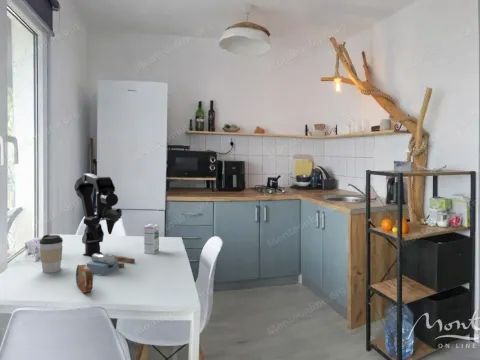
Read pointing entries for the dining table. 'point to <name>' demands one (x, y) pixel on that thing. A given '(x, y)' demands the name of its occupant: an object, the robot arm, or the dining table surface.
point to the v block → (101, 268)
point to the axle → (104, 259)
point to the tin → (84, 278)
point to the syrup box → (151, 238)
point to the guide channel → (124, 260)
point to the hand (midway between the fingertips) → (103, 236)
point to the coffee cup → (51, 253)
